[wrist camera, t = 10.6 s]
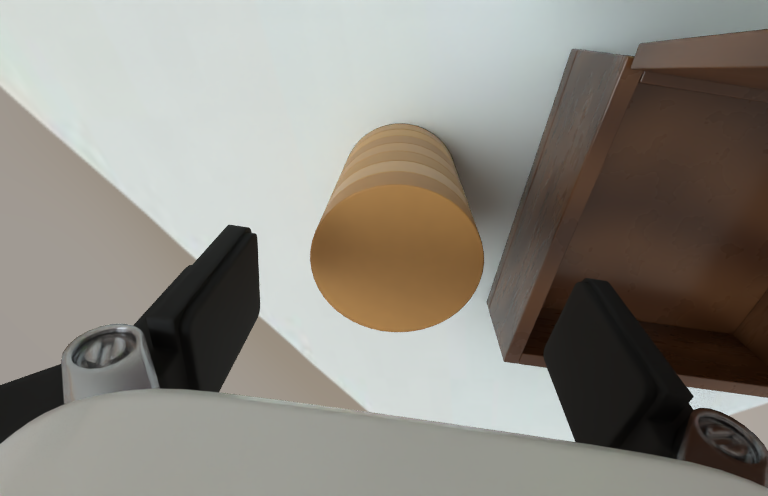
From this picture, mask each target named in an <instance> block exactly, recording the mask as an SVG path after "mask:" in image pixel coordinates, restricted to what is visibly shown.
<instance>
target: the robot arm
mask: <svg viewBox="0 0 768 496" xmlns="http://www.w3.org/2000/svg"><path fill="white" fill-rule="evenodd" d="M259 311H260V291H259V267H258V243H257V235H256V234H254V233H251V229H250V228H248V227H241V226H234V225H228V226H227V227H226V228H225V229H224V230H223V231H222V232H221V234H220V235H219V236H218V237H217V238H216V239H215V240H214V241H213V242H212V244H211V245H210V246H209V247H208V248H207V249H206V250H205V251H204V253H203V254H202V255H201V256H200V257H199V258H198V259H197V260H196V261H195V263H194V264H193V265H189V266H188V267H186V268H185V269H184V270H183V271H182V273H181V274H180V275H179V276H178V277H177V278H176V279H175V280H174V281H173V283H172V284H171V285H170V286H169V287H168V288H167V289H166V290H165V291H164V292H163V293H162V295H161V296H160V297H159V298H158V299H157V300H156V301H155V302H154V303H153V304H152V306H151V307H150V308H149V309H148V310H147V311H146V312H145V313H144V314H143V316H141V318H140V319H139V320H138V321H137V322H136V323H135V324H134V325H128V324H110V325H105V326H100V327H98V328H95V329H92V330H89V331H87V332H85V333H84V334H82V335H80V336H78V337H77V338H76V339H74V340H73V341H72V342H71V343H70V344H69V345H68V346H67V347H66V349H65V350H64V352H63V354H62V360H61V364H60V365H57V366H54V367H51V368H48V369H45V370H42V371H40V372H37V373H34V374H31V375H28V376H25V377H22V378H20V379H17V380H14V381H11V382H8V383H5V384H2V385H0V496H768V451H767V449H766V447H765V446H764V444H763V443H762V442H761V441H760V440H759V438H758V437H757V436H756V435H755V434H754V433H753V432H751V431H750V430H749V429H748V428H747V427H745V426H744V425H743V424H741V423H739V422H738V421H737V420H735V419H733V418H732V417H730V416H728V415H726V414H724V413H721V412H719V411H716V410H712V409H708V408H698V409H695V410H693V409H692V407H691V406H690V405H689V402H690V400H691V399H692V398H693V397H694V396H693V395H692V394H691V392H690V391H689V390H688V388H687V387H686V386H685V384H684V383H683V382H682V380H681V379H680V378H679V376H678V375H677V374H676V372H675V371H674V369H673V368H672V367H671V365H670V364H669V363H668V361H667V360H666V359H665V357H664V356H663V355H662V353H661V352H660V351H659V349H658V348H657V347H656V345H655V344H654V342H653V341H652V340H651V338H650V337H649V336H648V334H647V333H646V332H645V330H644V329H643V328H642V326H641V325H640V324H639V322H638V321H637V320H636V318H635V317H634V315H633V314H632V313H631V311H630V310H629V309H628V307H627V306H626V305H625V303H624V302H623V301H622V299H621V298H620V297H619V295H618V294H617V293H616V291H615V290H614V288H613V287H612V286H611V284H610V283H609V282H608V281H604V280H597V279H590V278H585V279H583V280H582V282H577V283H576V284H575V286H574V288H573V290H572V292H571V294H570V296H569V298H568V300H567V302H566V304H565V306H564V308H563V310H562V313H561V315H560V317H559V319H558V321H557V323H556V325H555V327H554V329H553V331H552V333H551V335H550V337H549V339H548V341H547V343H546V346H545V348H544V354H543V356H544V361H545V363H546V366H547V369H548V371H549V374H550V377H551V379H552V382H553V384H554V387H555V390H556V392H557V395H558V397H559V400H560V403H561V405H562V408H563V410H564V413H565V416H566V418H567V421H568V424H569V426H570V429H571V431H572V434H573V437H574V439H575V442H571V441H564V440H557V439H551V438H544V437H537V436H530V435H524V434H517V433H510V432H504V431H497V430H490V429H483V428H476V427H469V426H462V425H455V424H448V423H441V422H435V421H427V420H420V419H413V418H406V417H399V416H392V415H385V414H378V413H371V412H364V411H357V410H349V409H342V408H334V407H327V406H320V405H313V404H305V403H298V402H290V401H284V400H276V399H268V398H260V397H252V396H243V395H235V394H226V393H219V391H220V389H221V387H222V385H223V383H224V381H225V379H226V377H227V376H228V374H229V372H230V370H231V367H232V366H233V364H234V362H235V360H236V358H237V356H238V354H239V353H240V351H241V349H242V347H243V345H244V343H245V341H246V339H247V337H248V335H249V333H250V331H251V329H252V327H253V326H254V323H255V322H256V320H257V318H258V315H259Z"/></svg>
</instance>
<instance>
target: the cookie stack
mask: <svg viewBox="0 0 768 496" xmlns="http://www.w3.org/2000/svg"><path fill="white" fill-rule="evenodd" d="M310 262H311V269H312V273H313V277H314V280H315V282H316V284H317V286H318V288H319V290H320V292H321V293H322V295H323V296H324V298H325V299H326V300H327V301H328V303H329V304H330V305H331V306H332V307H333V308H334V309H336V310H337V311H338V312H339V313H341V314H342V315H343V316H345V317H346V318H348V319H350V320H352V321H353V322H356V323H358V324H360V325H362V326H365V327H368V328H371V329H376V330H380V331H388V332H409V331H416V330H421V329H425V328H428V327H431V326H434V325H436V324H439V323H441V322H443V321H445V320H446V319H448V318H450V317H451V316H453V315H454V314H455V313H457V312H458V311H459V310H460V309H461V308H462V307H463V306H465V304H466V303H467V302H468V301H469V300H470V298H471V297H472V295H473V294H474V292H475V291H476V289H477V286H478V284H479V282H480V279H481V276H482V272H483V265H484V251H483V246H482V241H481V238H480V236H479V233H478V230H477V227H476V224H475V222H474V219H473V216H472V213H471V210H470V208H469V205H468V202H467V199H466V196H465V193H464V191H463V188H462V185H461V182H460V179H459V177H458V174H457V171H456V168H455V165H454V163H453V160H452V157H451V155H450V153H449V151H448V149H447V148H446V146H445V145H444V144H443V143H442V142H441V141H440V139H439V138H437V137H436V136H435V135H434V134H432V133H431V132H429V131H427V130H425V129H423V128H421V127H418V126H414V125H409V124H391V125H386V126H382V127H380V128H377V129H375V130H373V131H371V132H370V133H368V134H367V135H365V136H364V137H363V138H362V139H361V140H360V141H359V142H358V143H357V144H356V145H355V147H354V148H353V149H352V151H351V153H350V155H349V157H348V159H347V162H346V164H345V166H344V168H343V171H342V173H341V175H340V177H339V180H338V182H337V184H336V186H335V189H334V191H333V193H332V195H331V198H330V200H329V202H328V204H327V207H326V209H325V211H324V213H323V216H322V218H321V220H320V222H319V225H318V227H317V229H316V231H315V234H314V237H313V240H312V245H311V251H310Z"/></svg>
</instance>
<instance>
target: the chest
mask: <svg viewBox="0 0 768 496" xmlns="http://www.w3.org/2000/svg"><path fill="white" fill-rule="evenodd" d="M634 57H635V56H628V55H620V54H612V53H604V52H596V51H588V50H579V49H572V50H571V53H570V56H569V59H568V62H567V65H566V68H565V71H564V74H563V77H562V80H561V83H560V86H559V89H558V92H557V94H556V97H555V100H554V103H553V106H552V109H551V112H550V115H549V118H548V121H547V124H546V127H545V130H544V133H543V136H542V139H541V142H540V145H539V148H538V151H537V154H536V157H535V160H534V163H533V166H532V169H531V172H530V175H529V178H528V181H527V184H526V187H525V190H524V193H523V195H522V198H521V201H520V204H519V207H518V210H517V213H516V216H515V219H514V222H513V225H512V228H511V231H510V234H509V237H508V240H507V243H506V246H505V249H504V252H503V255H502V258H501V261H500V264H499V267H498V270H497V273H496V276H495V279H494V282H493V285H492V288H491V291H490V294H489V296H488V299H487V305H488V309H489V312H490V316H491V319H492V323H493V326H494V329H495V333H496V336H497V339H498V343H499V346H500V350H501V353H502V356H503V360H504V362H510V363H518V364H524V365H531V366H538V367H546V368H547V366H546V363H545V361H544V356H543V354H544V348H545V346H546V343H547V341H548V339H549V337H550V335H551V333H552V331H553V329H554V327H555V325H556V323H557V321H558V319H559V317H560V315H561V313H562V310H563V308H564V306H565V304H566V302H567V300H568V298H569V296H570V294H571V292H572V290H573V288H574V286H575V284H576V283H577V282H582V280H583V279H585V278H590V279H597V280H604V281H608V282H609V283H610V284H611V286H612V287H613V288H614V290H615V291H616V293H617V294H618V295H619V297H620V298H621V299H622V301H623V302H624V303H625V305H626V306H627V307H628V309H629V310H630V311H631V313H632V314H633V315H634V317H635V318H636V320H637V321H638V322H639V324H640V325H641V326H642V328H643V329H644V330H645V332H646V333H647V334H648V336H649V337H650V338H651V340H652V341H653V342H654V344H655V345H656V347H657V348H658V349H659V351H660V352H661V353H662V355H663V356H664V357H665V359H666V360H667V361H668V363H669V364H670V365H671V367H672V368H673V369H674V371H675V372H676V374H677V375H678V376H679V378H680V379H681V380H682V382H683V383H684V384H685V386H686V387H693V388H701V389H708V390H715V391H723V392H730V393H737V394H745V395H752V396H760V397H767V398H768V90H762V89H756V88H749V87H743V86H736V85H730V84H723V83H717V82H711V81H704V80H698V79H691V78H685V77H678V76H672V75H666V74H659V73H653V72H646V71H640V70H634V69H631V65H632V63H633V60H634Z"/></svg>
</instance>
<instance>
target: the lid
mask: <svg viewBox="0 0 768 496" xmlns="http://www.w3.org/2000/svg"><path fill="white" fill-rule="evenodd" d="M631 69H634V70H640V71H646V72H653V73H659V74H666V75H672V76H678V77H685V78H691V79H698V80H704V81H711V82H717V83H723V84H730V85H736V86H743V87H749V88H756V89H762V90H768V29H762V30H753V31H745V32H736V33H727V34H718V35H709V36H700V37H691V38H683V39H674V40H665V41H656V42H647V43H640V44H639V46H638V49H637V52H636V55H635V57H634V60H633V63H632V65H631Z"/></svg>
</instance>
